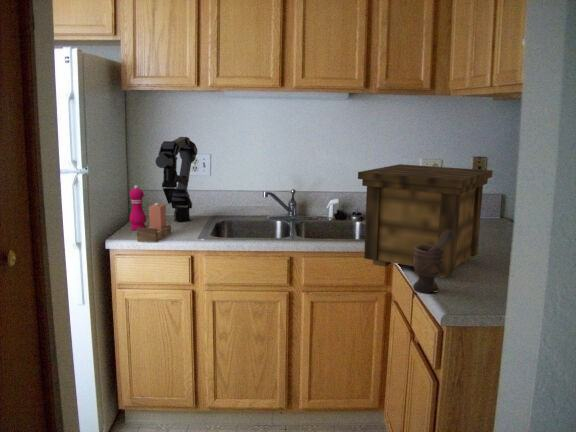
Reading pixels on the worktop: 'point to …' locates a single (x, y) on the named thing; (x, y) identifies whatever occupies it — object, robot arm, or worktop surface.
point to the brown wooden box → (152, 234)
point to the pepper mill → (137, 209)
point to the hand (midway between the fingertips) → (169, 203)
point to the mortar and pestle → (429, 263)
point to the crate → (422, 212)
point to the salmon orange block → (157, 216)
